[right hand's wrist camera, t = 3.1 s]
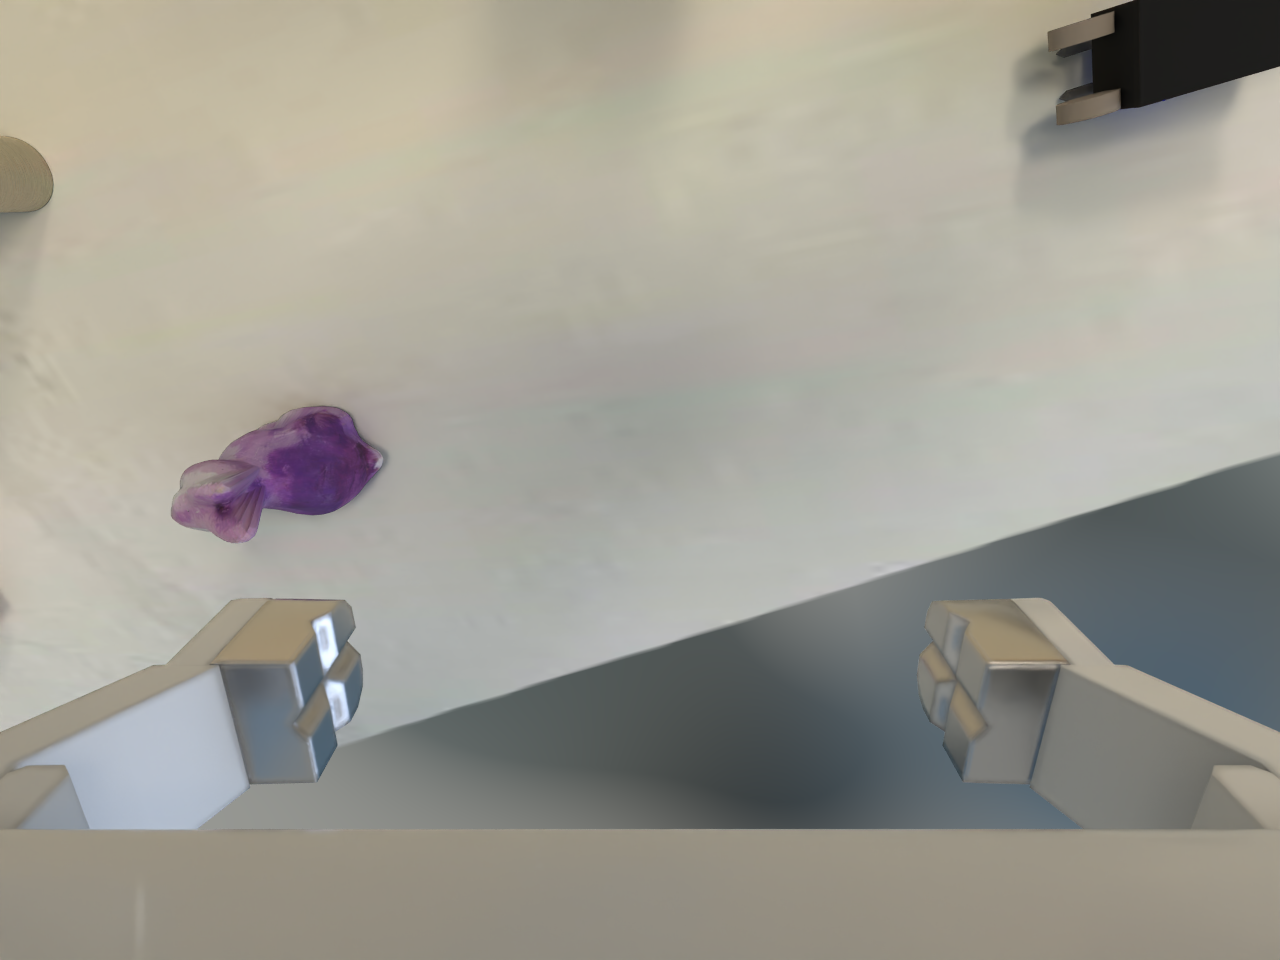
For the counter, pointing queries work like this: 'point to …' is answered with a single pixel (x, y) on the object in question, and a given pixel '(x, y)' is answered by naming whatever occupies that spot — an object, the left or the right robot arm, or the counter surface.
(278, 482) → the figurine
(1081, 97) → the figurine character
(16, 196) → the jar
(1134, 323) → the counter surface
